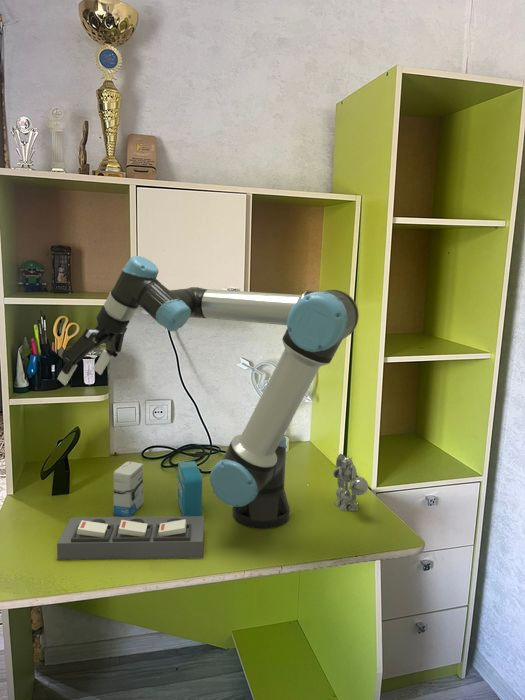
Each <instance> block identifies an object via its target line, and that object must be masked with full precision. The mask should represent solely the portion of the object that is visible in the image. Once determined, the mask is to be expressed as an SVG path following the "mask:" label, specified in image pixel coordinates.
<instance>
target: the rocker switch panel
mask: <svg viewBox="0 0 525 700" xmlns="http://www.w3.org/2000/svg"><path fill="white" fill-rule="evenodd" d="M184 519H186V524H187V525H186V533H181V534H175V535H169V536H163V537H159V533H158V532H159V527H160V524H161V523H167V522H173V521H178V520H184ZM204 519H205V517H204V515H202V516H181V515H179V516H176V515H175V516H174V515H172V516H170V515H169V516H168V515H167V516H131V517H126V516H90V517H89V516H73V517H70V518H69V519H68V522H67V523H66V525H65V527H64V529H63V531H62V533H61V535H60V537H59V539H58V541H57V543H56V552H57V553H56V556H57V557H56V558H57V561H79V560H80V561H81V560H82V561H83V560H84V561H85V560H87V561H88V560H89V561H90V560H95V561H96V560H145V559H147V560H149V559H150V560H152V559H156V560H157V559H158V560H159V559H202V558H203V557H204V555H203V554H204V531H205V530H204V529H205V527H204V526H205V525H204V524H205V523H204V521H205V520H204ZM82 520H84V521H91V522H97V523H104V524H108V527H107V531H106V534H105V536H104V537H103V538H102V537H95V536H88V535H81V534H77V529H78V527H79V525H80V523H81V521H82ZM121 520H126V521H133V522H139V523H146V524H147V529H146V533H145V537H139V536H132V535H126V534H119V533H118V530H119V526H120V523H121Z"/></svg>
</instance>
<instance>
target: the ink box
mask: <svg viewBox="0 0 525 700" xmlns="http://www.w3.org/2000/svg"><path fill="white" fill-rule="evenodd" d="M112 476H113V477H112V478H113V515H114V516H118V517H133V515H134V513H136V512H137V510H138V509H139V508H140V507H141V506H142V505H144V504H143V503H144V463H141V462H135V461H125V462H124V463H123V464H121V466H119V467H117V469H115V470H114V471H113V474H112Z"/></svg>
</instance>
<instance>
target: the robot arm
mask: <svg viewBox="0 0 525 700" xmlns="http://www.w3.org/2000/svg"><path fill="white" fill-rule="evenodd" d="M158 274H159V268H158V266H157V265H156V264H155V263H153V261H151V260H150V259H148V258H146V257H144V256H141V255H133V256H130V258H129V259H128V261H127V262H126V264H125V266H124V267H123V268H122V269H121V272H120V274H119V276H118V278H117V280H116V282H115V284H114V286H113V288H112V289H111V291H110V292H109V293H108V296H107V298H106V300H105V302H104V303H103V306H101V308H100V310H99V312H98V313H97V315H96V322H97V325H96V326H95V327H94V328H93V329H91V328H90V327H87V328H86V329H85V330H84V332H83V334H82V335H81V336H80V337H79V338H78V339H77V340H76V341H75V342H74V344H73V345H72V346H71V347H70V348H69V349H68V350H67V351H66V353H64V355H63V356H61V357H62V358H61V359H62V360H63V361H64V362H65V363H64V365H63V367H62V369H61V371H60V372H59V374H58V377H57V380H58V381H59V382H60V383H61V384H62V385H64V386H67V384H68V383H69V381H70V379H71V377H72V376H73V374H74V372H75V371H76V369H77V367H78V362H80V361H81V360H82V359H84V357H86V356H87V355H88V354H89V353H90V352H91V351H92V350H93V349H97V348H98V347H100V346H101V345H102V344H105V349H103V351H102V352H101V354H100V356H99V357H98V360H97V361H96V362H95V364H94V366H93V370H94V371H95V372H96V373H97V374H98V375H100V376H101V375H102V374H103V373H104V370H105V369H106V367H108V364H109V362H110V360H111V359H112V358H113V357H114V358H117V357H118V354H119V353H120V352H121V351H122V347H123V341H124V337H125V334H126V331H127V329H128V327H127V326H128V325H129V323H130V321H131V320H132V318H133V317H134V316H135V313H136V311H137V310H138V308H139V307H140V308H142V309H143V310H144V311H145V313H147V314H148V315H150V317H152V318H153V319H154V320H155V321H156V322H157V324H159V325H160V326H162V327H164V329H166V330H167V331H169V332H175V331H178V330H179V329H181V328H182V327H183V326H185V324H186V323H187V322H188V320H189V319H191V318H197V319H211V320H222V321H233V322H234V321H235V322H245V323H247V322H248V323H254V324H255V323H257V324H267V325H269V324H270V325H278V326H279V325H280V326H287V328H286V331H285V332H284V334H283V336H282V338H281V341H282V343H283V346H284V350H283V352H282V354H281V356H280V358H279V359H278V362H277V364H276V365H275V369H274V370H273V372H272V374H271V376H270V378H269V380H268V382H267V383H266V386H265V388H264V389H263V391H262V393H261V396H260V397H259V400H258V402H257V404H256V406H255V408H254V409H253V412H252V414H251V416H250V417H249V420H248V422H247V423H246V425H245V428H244V430H243V431H242V432H241V434H237V435H236V436H234V437H233V438H232V439H231V441H230V444H229V445H228V447H227V449H226V451H225V453H224V454H223V457H222V459H220V460H219V461H217V462H216V463H215V464H214V466H213V467H212V469H211V472H210V475H209V483H210V486H211V488H212V489H213V490H212V492H213V493H214V495H215V496H216V497H217V498H218V499H219V500H220V501H221V502H222V503H224V504H226V505H227V506H230V507H232V517H233V519H234V520H235V521H236V522H237V523H238V524H239V525H241V526H244V527H246V528H247V527H248V528H252V529H259V530H262V529H263V530H264V529H265V530H267V529H273V528H278V527H280V526H281V527H282V526H283V525H285V524H286V523H287V522H288V521H289V519H290V515H291V513H290V511H291V510H290V504H289V500H288V498H287V494H286V490H285V479H286V477H285V475H286V459H287V448H288V447H287V437H286V436H285V434H286V431H287V429H288V428H289V426H290V424H291V422H292V421H293V418H294V417H295V415H296V414H297V413H296V412H297V411H298V409H299V407H300V406H301V403H302V401H303V399H304V397H305V396H306V394H307V392H308V390H309V388H310V386H311V385H312V383H313V381H314V379H315V377H316V375H317V374H318V372H319V370H320V367H322V366H326V365H330V364H331V362H332V360H333V358H334V357H335V354H336V353H337V351H338V349H339V347H340V345H341V343H342V341H343V340H345V339H346V338H348V337H349V336H350V335H351V334H352V333H353V332H354V330H355V329H356V328H357V325H358V322H359V308H358V306H357V303H356V301H355V300H354V299H353V297H352V296H351V295H349V294H348V293H347V292H344V291H342V290H339V289H328V290H323V291H322V290H319V291H309V290H306V291H304V292H303V293H302V294H290V293H275V292H272V293H271V292H258V291H244V290H243V291H241V290H228V289H227V290H225V289H213V288H212V289H211V288H209V289H207V288H204V287H198V286H196V287H195V286H193V287H188V288H178V289H168V288H167V287H166V286H165V285H164V284H162V283H161V282H160V281H159V280H158V279H157V277H158Z"/></svg>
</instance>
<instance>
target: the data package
mask: <svg viewBox="0 0 525 700" xmlns="http://www.w3.org/2000/svg"><path fill="white" fill-rule="evenodd" d="M202 476H203V475H202V473H201V471H200V469H199V467H198V465H197V463H196V461H195V460H191V461H189V460H188V461H180V462H178V463H177V503H178V506H179V510H180V511H181V512H180V513H181V515H182V516H203V514H202V512H203V511H202V510H203V505H202V504H203V477H202Z"/></svg>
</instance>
